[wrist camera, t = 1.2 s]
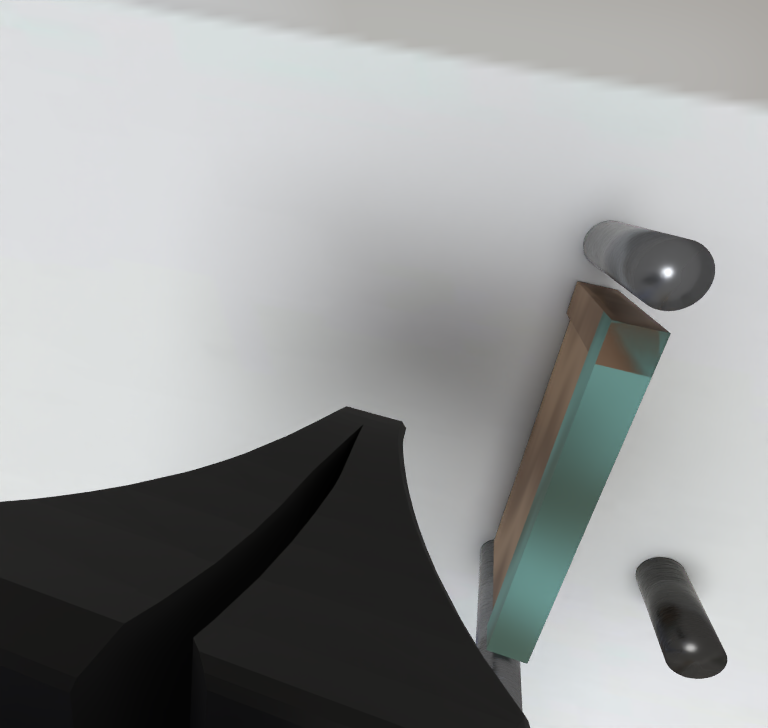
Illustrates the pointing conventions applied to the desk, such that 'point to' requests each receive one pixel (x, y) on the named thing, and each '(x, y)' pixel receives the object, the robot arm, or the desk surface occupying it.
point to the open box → (569, 458)
